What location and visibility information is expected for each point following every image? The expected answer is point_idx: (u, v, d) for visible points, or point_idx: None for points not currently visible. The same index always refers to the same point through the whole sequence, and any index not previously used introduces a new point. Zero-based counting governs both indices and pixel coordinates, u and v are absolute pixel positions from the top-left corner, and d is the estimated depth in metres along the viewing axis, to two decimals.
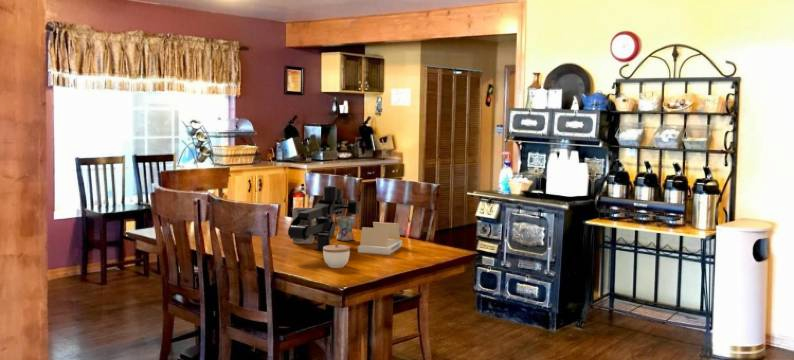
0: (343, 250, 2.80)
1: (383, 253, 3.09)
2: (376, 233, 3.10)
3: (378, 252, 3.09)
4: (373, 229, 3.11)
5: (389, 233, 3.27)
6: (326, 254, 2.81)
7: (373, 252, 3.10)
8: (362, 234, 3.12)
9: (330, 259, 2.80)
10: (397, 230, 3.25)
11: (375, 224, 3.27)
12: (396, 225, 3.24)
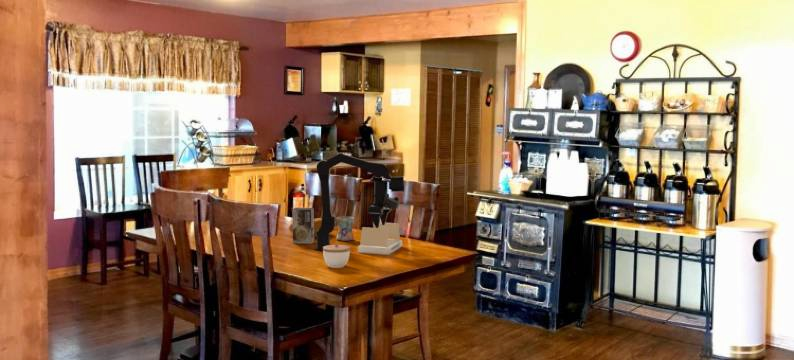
0: (343, 250, 2.80)
1: (383, 253, 3.09)
2: (376, 233, 3.10)
3: (378, 252, 3.09)
4: (373, 229, 3.11)
5: (389, 233, 3.27)
6: (326, 254, 2.81)
7: (373, 252, 3.10)
8: (362, 234, 3.12)
9: (330, 259, 2.80)
10: (397, 230, 3.25)
11: None
12: (396, 225, 3.24)
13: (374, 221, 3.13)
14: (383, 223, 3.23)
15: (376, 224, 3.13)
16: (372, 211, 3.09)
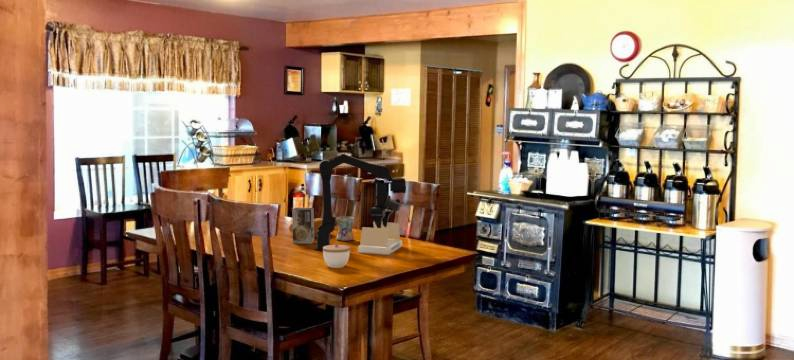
0: (343, 250, 2.80)
1: (383, 253, 3.09)
2: (376, 233, 3.10)
3: (378, 252, 3.09)
4: (373, 229, 3.11)
5: (389, 233, 3.27)
6: (326, 254, 2.81)
7: (373, 252, 3.10)
8: (362, 234, 3.12)
9: (330, 259, 2.80)
10: (397, 230, 3.25)
11: (375, 224, 3.27)
12: (396, 225, 3.24)
13: (376, 223, 3.16)
14: (385, 225, 3.24)
15: (378, 226, 3.16)
16: (374, 213, 3.11)
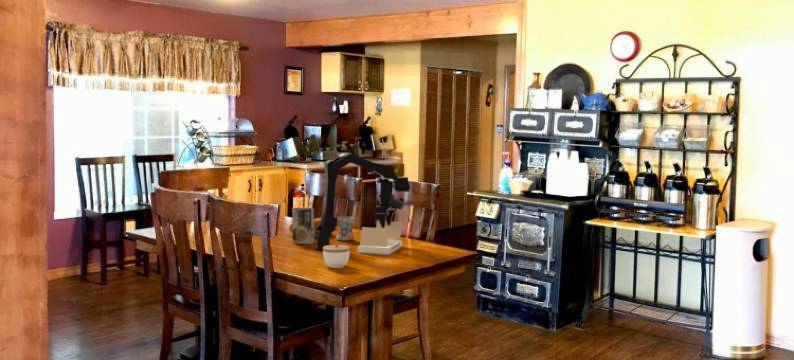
0: (343, 250, 2.80)
1: (383, 253, 3.09)
2: (376, 233, 3.10)
3: (378, 252, 3.09)
4: (373, 229, 3.11)
5: (390, 232, 3.29)
6: (326, 254, 2.81)
7: (373, 252, 3.10)
8: (362, 234, 3.12)
9: (330, 259, 2.80)
10: (399, 229, 3.28)
11: (379, 222, 3.32)
12: (399, 223, 3.29)
13: (380, 221, 3.21)
14: (388, 223, 3.30)
15: (382, 224, 3.21)
16: (378, 211, 3.17)
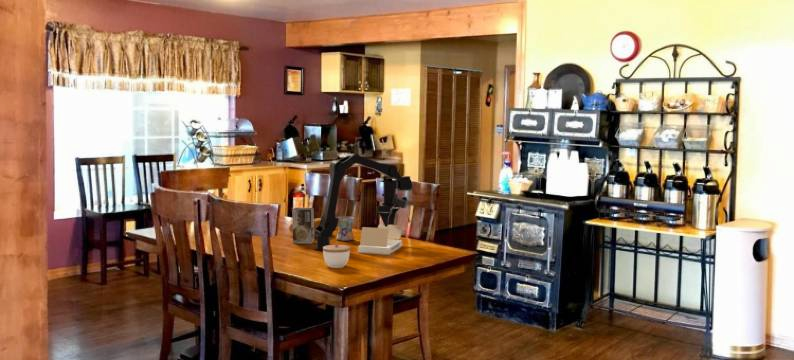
0: (343, 250, 2.80)
1: (383, 253, 3.09)
2: (376, 233, 3.10)
3: (378, 252, 3.09)
4: (373, 229, 3.11)
5: (391, 233, 3.30)
6: (326, 254, 2.81)
7: (373, 252, 3.10)
8: (362, 234, 3.12)
9: (330, 259, 2.80)
10: (400, 231, 3.30)
11: (380, 225, 3.35)
12: (401, 226, 3.32)
13: (383, 220, 3.25)
14: (392, 222, 3.35)
15: (385, 223, 3.26)
16: (381, 210, 3.21)
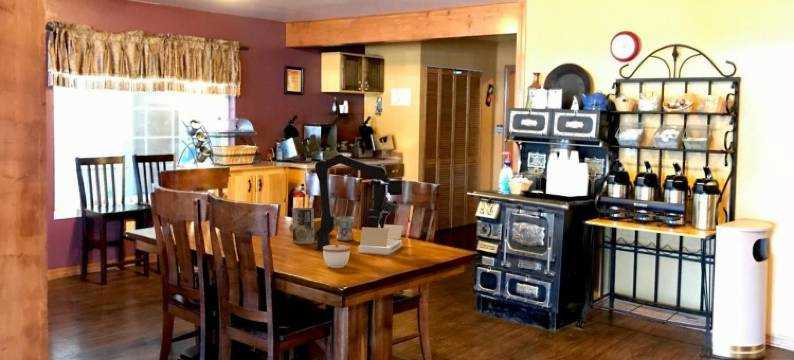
0: (343, 250, 2.80)
1: (383, 253, 3.09)
2: (376, 233, 3.10)
3: (378, 252, 3.09)
4: (373, 229, 3.11)
5: (391, 233, 3.30)
6: (326, 254, 2.81)
7: (373, 252, 3.10)
8: (362, 234, 3.12)
9: (330, 259, 2.80)
10: (400, 231, 3.30)
11: None
12: (401, 226, 3.32)
13: (373, 225, 3.12)
14: (382, 227, 3.21)
15: None
16: (371, 215, 3.07)
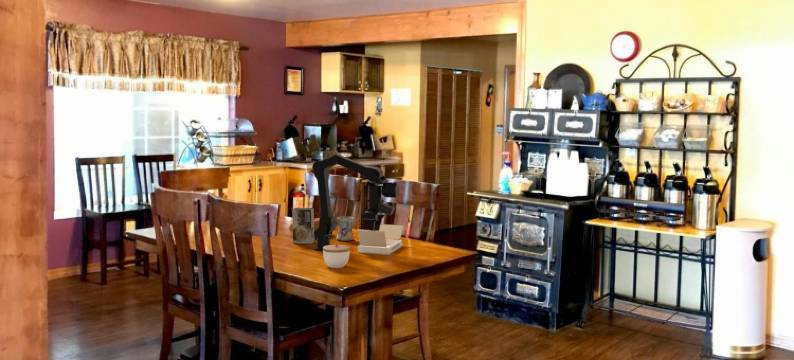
0: (343, 250, 2.80)
1: (383, 253, 3.09)
2: (373, 236, 3.07)
3: (378, 252, 3.09)
4: (369, 232, 3.06)
5: (391, 233, 3.30)
6: (326, 254, 2.81)
7: (373, 252, 3.10)
8: (359, 236, 3.09)
9: (330, 259, 2.80)
10: (400, 231, 3.30)
11: (380, 225, 3.35)
12: (401, 226, 3.32)
13: (369, 227, 3.06)
14: (377, 229, 3.15)
15: None
16: (366, 217, 3.01)
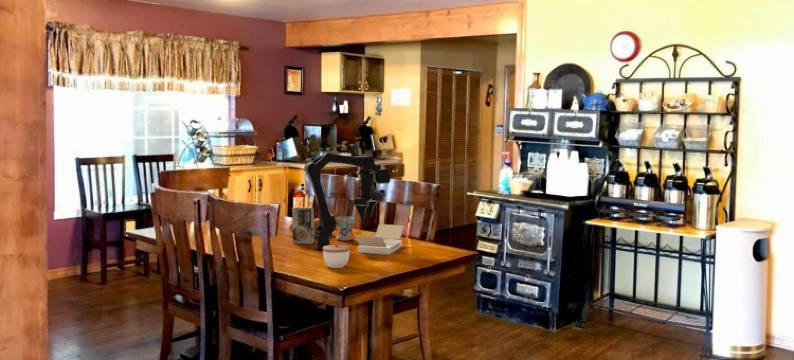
0: (343, 250, 2.80)
1: (383, 253, 3.09)
2: (372, 240, 3.05)
3: (378, 252, 3.09)
4: (367, 237, 3.04)
5: (391, 233, 3.30)
6: (326, 254, 2.81)
7: (373, 252, 3.10)
8: (358, 239, 3.07)
9: (330, 259, 2.80)
10: (400, 231, 3.30)
11: (380, 225, 3.35)
12: (401, 226, 3.32)
13: (360, 213, 3.19)
14: (369, 215, 3.28)
15: (362, 216, 3.19)
16: (358, 203, 3.15)
